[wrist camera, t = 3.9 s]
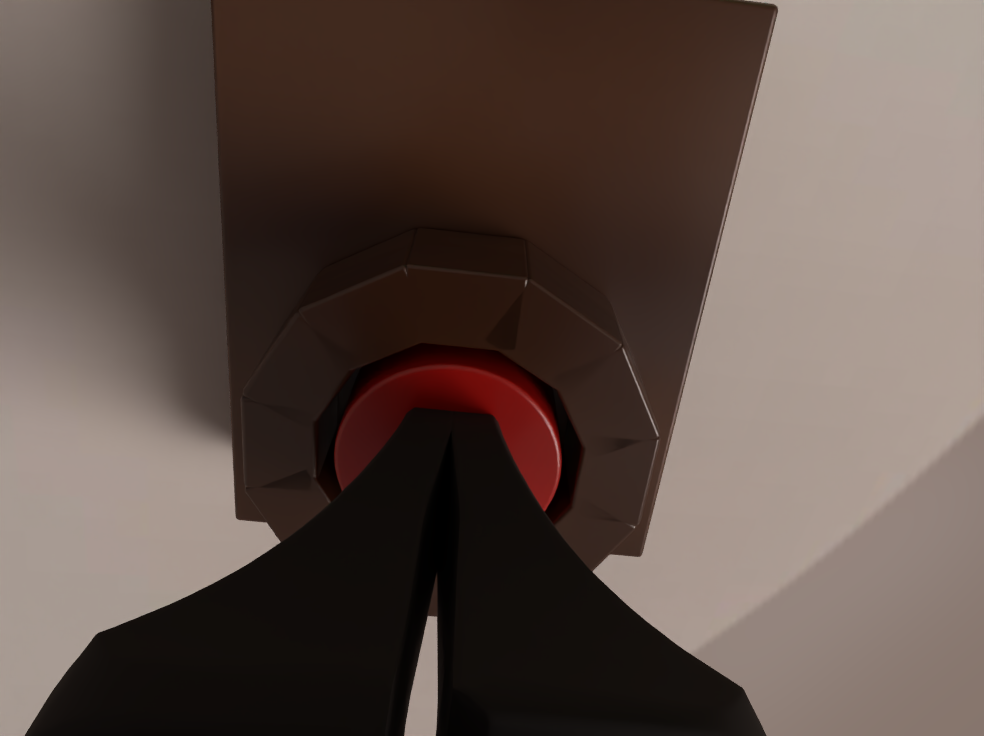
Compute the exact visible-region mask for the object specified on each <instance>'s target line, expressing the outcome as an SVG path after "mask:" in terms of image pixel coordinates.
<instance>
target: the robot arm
mask: <svg viewBox="0 0 984 736" xmlns="http://www.w3.org/2000/svg"><path fill="white" fill-rule="evenodd" d="M436 575H437V632H438V709H437V730H436V736H766V734H765V732H764V730H763V728H762V725H761V723H760V721H759V719H758V718H757V716H756V713H755V711H754V709H753V708H752V705H751V704H750V701H749V699H748V697H747V695H746V693H745V691H744V689H743V688H742V687H740V686H738V685H737V684H736V683H734V682H732V681H731V680H729V679H728V678H726V677H725V676H723V675H722V674H720V673H719V672H717V671H716V670H714V669H712V668H711V667H709V666H708V665H706V664H705V663H703V662H702V661H700V660H699V659H697V658H696V657H694V656H693V655H691V654H689V653H688V652H686V651H685V650H683V649H682V648H681V647H679V646H678V645H676V644H675V643H674V642H672V641H671V640H670V639H669V638H667V637H666V636H665V635H663V634H662V633H661V632H660V631H658V630H657V629H656V628H654V627H653V626H652V625H650V624H649V623H648V622H647V621H645V620H644V619H643V618H642V617H641V616H639V615H638V614H637V613H636V612H635V611H633V610H632V609H631V608H630V607H629V606H628V605H626V604H625V603H624V602H623V601H622V600H621V599H620V598H619V597H618V596H617V595H616V594H615V593H614V592H613V591H612V590H610V589H609V588H608V587H607V586H606V585H605V584H604V583H603V582H602V581H601V580H600V579H599V578H598V577H597V576H596V575H595V574H594V573H593V572H592V571H591V570H590V569H589V568H588V567H587V566H586V565H585V563H584V562H583V561H582V560H581V559H580V558H579V556H578V555H577V554H576V553H575V552H574V550H573V549H572V548H571V547H570V546H569V544H568V543H567V542H566V541H565V539H564V538H563V537H562V535H561V534H560V533H559V531H558V530H557V529H556V527H555V526H554V524H553V523H552V522H551V520H550V519H549V517H548V516H547V514H546V513H545V511H544V510H543V509H542V507H541V505H540V504H539V502H538V501H537V499H536V498H535V496H534V494H533V493H532V491H531V489H530V488H529V486H528V484H527V482H526V481H525V479H524V477H523V475H522V474H521V472H520V470H519V468H518V466H517V464H516V463H515V461H514V459H513V456H512V454H511V452H510V450H509V448H508V446H507V444H506V441H505V439H504V437H503V434H502V431H501V429H500V425H499V422H498V421H497V420H496V418H495V417H494V416H493V415H489V414H479V413H468V412H458V411H448V410H438V409H428V408H418V407H414V408H413V409H411V410H410V411H409V412H407V413H406V415H405V417H404V419H403V420H402V422H401V423H400V425H399V426H398V428H397V429H396V431H395V432H394V433H393V435H392V436H391V437H390V439H389V440H388V441H387V442H386V444H385V445H384V446H383V448H382V449H381V450H380V451H379V452H378V453H377V455H376V456H375V457H374V458H373V459H372V460H371V461H370V463H369V464H368V465H367V466H366V467H365V468H364V470H363V471H362V472H361V473H360V474H359V475H358V476H357V477H356V478H355V479H354V480H353V481H352V482H351V483H350V484H349V485H348V486H347V487H346V488H345V489H344V490H343V491H342V492H341V493H340V494H339V495H338V496H337V497H336V498H335V499H334V500H333V501H332V502H331V503H329V504H328V505H327V506H326V507H325V508H324V509H323V510H321V511H320V512H319V513H318V514H317V515H316V516H315V517H313V518H312V519H311V520H310V521H309V522H307V523H306V524H305V525H303V526H302V527H301V528H300V529H298V530H297V531H296V532H294V533H293V534H292V535H291V536H289V537H288V538H287V539H285V540H284V541H282V542H281V543H279V544H278V545H276V546H275V547H273V548H272V549H271V550H269V551H268V552H266V553H265V554H263V555H261V556H260V557H258V558H257V559H255V560H254V561H252V562H251V563H249V564H247V565H246V566H244V567H242V568H241V569H239V570H237V571H235V572H234V573H232V574H230V575H228V576H226V577H224V578H223V579H221V580H219V581H217V582H215V583H213V584H211V585H209V586H207V587H205V588H203V589H201V590H199V591H197V592H195V593H193V594H191V595H189V596H187V597H185V598H183V599H181V600H179V601H176V602H174V603H172V604H170V605H167V606H165V607H163V608H160V609H158V610H155V611H153V612H150V613H148V614H145V615H143V616H140V617H138V618H136V619H133V620H131V621H128V622H126V623H123V624H121V625H118V626H116V627H113V628H111V629H108V630H105V631H102V632H100V633H98V634H97V635H95V637H94V638H93V639H92V641H91V642H90V643H89V645H88V646H87V647H86V648H85V650H84V651H83V652H82V654H81V655H80V656H79V657H78V659H77V660H76V661H75V662H74V663H73V664H72V666H71V667H70V668H69V669H68V671H67V672H66V673H65V675H64V676H63V677H62V679H61V680H60V681H59V683H58V684H57V686H56V687H55V688H54V690H53V691H52V693H51V694H50V696H49V697H48V699H47V700H46V702H45V704H44V705H43V707H42V708H41V710H40V712H39V713H38V715H37V717H36V718H35V720H34V721H33V723H32V725H31V726H30V728H29V729H28V731H27V733H26V734H25V736H404V732H405V724H406V718H407V712H408V706H409V700H410V695H411V690H412V685H413V681H414V676H415V672H416V667H417V662H418V658H419V653H420V649H421V644H422V639H423V635H424V630H425V626H426V621H427V616H428V612H429V607H430V603H431V598H432V593H433V589H434V584H435V579H436Z"/></svg>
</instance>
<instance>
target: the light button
mask: <svg viewBox="0 0 984 736" xmlns="http://www.w3.org/2000/svg"><path fill="white" fill-rule="evenodd" d="M414 407H418V408H428V409H438V410H448V411H458V412H468V413H479V414H489V415H493V416H494V417H495V418H496V420H497V421H498V422H499V425H500V429H501V431H502V434H503V437H504V439H505V441H506V444H507V446H508V448H509V450H510V452H511V454H512V456H513V459H514V461H515V463H516V464H517V466H518V468H519V470H520V472H521V474H522V475H523V477H524V479H525V481H526V482H527V484H528V486H529V488H530V489H531V491H532V493H533V494H534V496H535V498H536V499H537V501H538V502H539V504H540V505H541V507H542V509H543V510H544V511H545V510H546V509H547V507H548V505H549V504H550V502H551V501H552V499H553V497H554V495H555V492H556V490H557V488H558V484H559V480H560V476H561V468H562V454H561V444H560V436H559V428H558V420H557V412H556V404H555V398H554V394H553V389H552V387H551V386H550V385H548V384H547V383H545V382H544V381H542V380H541V379H539V378H538V377H536V376H535V375H533V374H531V373H530V372H528V371H527V370H525V369H524V368H522V367H521V366H519V365H518V364H516V363H515V362H513V361H512V360H510V359H509V358H507V357H506V356H504V355H503V354H501V353H500V352H498V351H497V350H487V349H477V348H467V347H458V346H448V345H438V344H428V343H420V344H417V345H415V346H412V347H410V348H407V349H405V350H402V351H400V352H397V353H395V354H393V355H390V356H388V357H385V358H383V359H380V360H378V361H375V362H373V363H370V364H368V365H365V366H363V367H361V369H360V371H359V373H358V375H357V378H356V380H355V382H354V385H353V388H352V391H351V394H350V397H349V399H348V402H347V405H346V408H345V411H344V414H343V416H342V419H341V422H340V425H339V428H338V431H337V435H336V439H335V446H334V466H335V471H336V475H337V479H338V482H339V484H340V487H341V490H342V491H343V490H344V489H345V488H346V487H347V486H348V485H349V484H350V483H351V482H352V481H353V480H354V479H355V478H356V477H357V476H358V475H359V474H360V473H361V472H362V471H363V470H364V468H365V467H366V466H367V465H368V464H369V463H370V461H371V460H372V459H373V458H374V457H375V456H376V455H377V453H378V452H379V451H380V450H381V449H382V448H383V446H384V445H385V444H386V442H387V441H388V440H389V439H390V437H391V436H392V435H393V433H394V432H395V431H396V429H397V428H398V426H399V425H400V423H401V422H402V420H403V419H404V417H405V415H406V413H407V412H409V411H410V410H411V409H413V408H414Z"/></svg>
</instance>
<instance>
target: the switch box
mask: <svg viewBox="0 0 984 736" xmlns="http://www.w3.org/2000/svg"><path fill="white" fill-rule="evenodd" d="M777 13H778V8H777V6H776V5H774V4H768V3H761V2H753V1H745V0H211V17H212V37H213V58H214V79H215V99H216V120H217V141H218V161H219V182H220V202H221V223H222V244H223V264H224V285H225V306H226V326H227V347H228V368H229V388H230V409H231V430H232V450H233V471H234V492H235V512H236V518H237V519H238V520H246V521H257V522H267V523H268V525H269V526H270V527H271V529H272V530H273V532H274V533H275V535H276V536H277V537H278V539H279V540H280V542H282V541H284V540H285V539H287V538H288V537H289V536H291V535H292V534H293V533H294V532H296V531H297V530H298V529H300V528H301V527H302V526H303V525H305V524H306V523H307V522H309V521H310V520H311V519H312V518H313V517H315V516H316V515H317V514H318V513H319V512H320V511H321V510H323V509H324V508H325V507H326V506H327V505H328V504H329V503H331V502H332V501H333V500H334V499H335V498H336V497H337V496H338V495H339V494H340V493H341V492H342V490H341V487H340V484H339V482H338V479H337V475H336V471H335V466H334V446H335V439H336V435H337V431H338V428H339V425H340V422H341V419H342V416H343V414H344V411H345V408H346V405H347V402H348V399H349V397H350V394H351V391H352V388H353V385H354V382H355V380H356V378H357V375H358V373H359V371H360V369H361V367H363V366H365V365H368V364H370V363H373V362H375V361H378V360H380V359H383V358H385V357H388V356H390V355H393V354H395V353H397V352H400V351H402V350H405V349H407V348H410V347H412V346H415V345H417V344H420V343H428V344H438V345H448V346H458V347H467V348H477V349H487V350H497V351H498V352H500V353H501V354H503V355H504V356H506V357H507V358H509V359H510V360H512V361H513V362H515V363H516V364H518V365H519V366H521V367H522V368H524V369H525V370H527V371H528V372H530V373H531V374H533V375H535V376H536V377H538V378H539V379H541V380H542V381H544V382H545V383H547V384H548V385H550V386H551V387H552V389H553V394H554V398H555V404H556V412H557V420H558V428H559V436H560V444H561V454H562V468H561V476H560V480H559V484H558V488H557V490H556V492H555V495H554V497H553V499H552V501H551V502H550V504H549V505H548V507H547V509H546V510H545V513H546V514H547V516H548V517H549V519H550V520H551V522H552V523H553V524H554V526H555V527H556V529H557V530H558V531H559V533H560V534H561V535H562V537H563V538H564V539H565V541H566V542H567V543H568V544H569V546H570V547H571V548H572V549H573V550H574V552H575V553H576V554H577V555H578V556H579V558H580V559H581V560H582V561H583V562H584V563H585V565H586V566H587V567H588V568H589V569H590V570H591V571H593V570H594V569H595V568H596V567H597V566H598V565H599V564H600V563H601V562H602V561H603V560H604V559H605V558H606V557H607V556H608V555H609V554H614V555H624V556H635V557H639V556H641V555H642V553H643V549H644V545H645V541H646V537H647V533H648V529H649V525H650V521H651V517H652V513H653V509H654V505H655V501H656V497H657V493H658V489H659V485H660V481H661V477H662V473H663V469H664V465H665V461H666V457H667V453H668V449H669V445H670V441H671V437H672V433H673V429H674V425H675V421H676V417H677V413H678V409H679V405H680V401H681V397H682V393H683V389H684V385H685V381H686V377H687V373H688V369H689V365H690V361H691V357H692V353H693V349H694V345H695V341H696V337H697V333H698V329H699V325H700V321H701V317H702V313H703V309H704V305H705V301H706V297H707V293H708V289H709V285H710V281H711V277H712V273H713V269H714V265H715V261H716V257H717V253H718V249H719V245H720V241H721V237H722V233H723V229H724V225H725V221H726V217H727V213H728V209H729V205H730V201H731V197H732V193H733V189H734V185H735V181H736V177H737V173H738V169H739V165H740V161H741V157H742V153H743V149H744V145H745V141H746V137H747V133H748V129H749V125H750V121H751V117H752V113H753V109H754V105H755V101H756V97H757V93H758V89H759V85H760V81H761V77H762V73H763V69H764V65H765V61H766V57H767V53H768V49H769V45H770V41H771V37H772V33H773V29H774V25H775V21H776V17H777ZM428 616H436V617H437V575H436V579H435V584H434V589H433V593H432V598H431V603H430V607H429V612H428Z"/></svg>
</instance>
